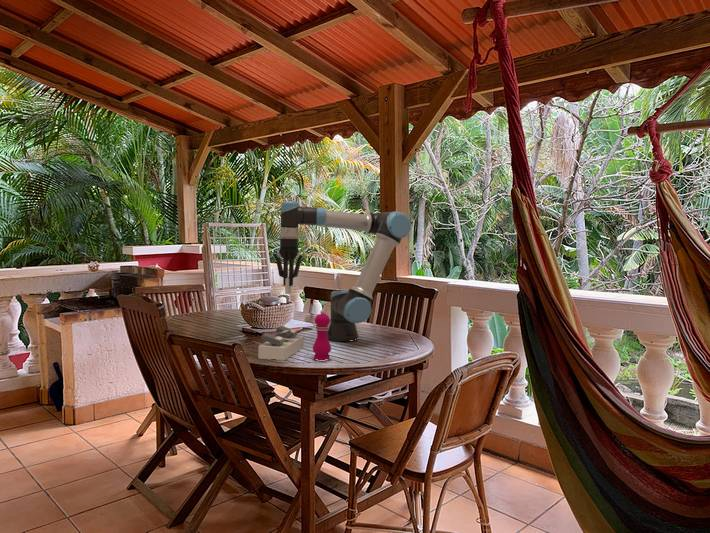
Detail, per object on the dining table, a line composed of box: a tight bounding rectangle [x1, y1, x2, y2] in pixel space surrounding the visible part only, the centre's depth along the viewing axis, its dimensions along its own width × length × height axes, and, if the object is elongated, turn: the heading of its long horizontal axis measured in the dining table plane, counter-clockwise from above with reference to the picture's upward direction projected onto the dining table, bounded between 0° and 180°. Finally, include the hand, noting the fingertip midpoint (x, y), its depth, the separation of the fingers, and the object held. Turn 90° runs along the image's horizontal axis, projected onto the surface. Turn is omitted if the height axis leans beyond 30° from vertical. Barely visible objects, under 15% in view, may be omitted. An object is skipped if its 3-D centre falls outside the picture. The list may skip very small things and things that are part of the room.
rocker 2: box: [272, 330, 291, 338], centre depth 226 cm, size 8×5×2 cm, turn 77°
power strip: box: [257, 335, 305, 361], centre depth 229 cm, size 11×30×6 cm, turn 167°
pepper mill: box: [312, 309, 332, 360], centre depth 216 cm, size 7×7×20 cm
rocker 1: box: [260, 332, 285, 346], centre depth 218 cm, size 8×5×2 cm, turn 77°
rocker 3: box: [275, 325, 298, 338], centre depth 234 cm, size 8×5×2 cm, turn 77°
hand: (288, 293), depth 231 cm, fingers closed
